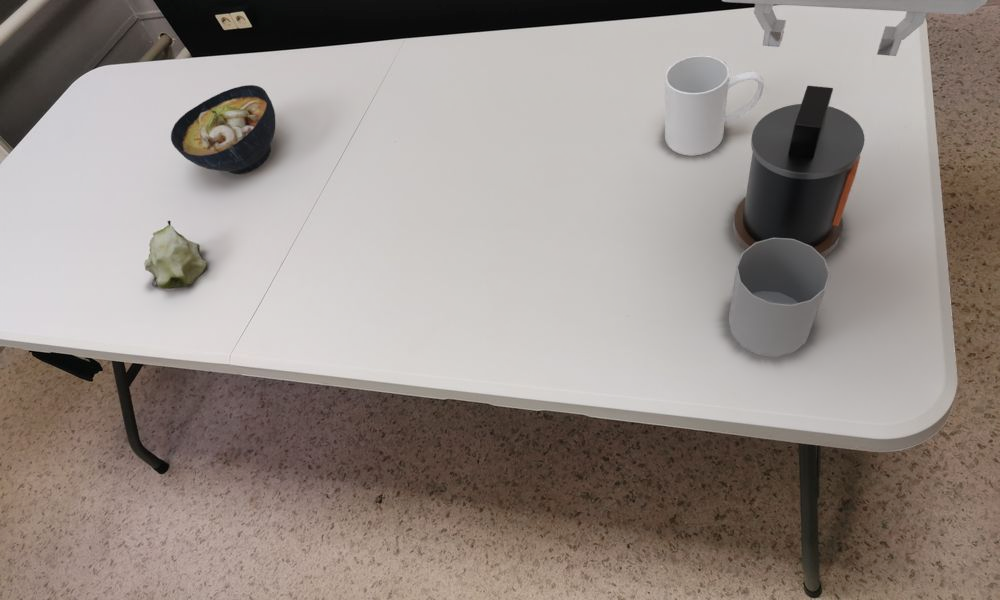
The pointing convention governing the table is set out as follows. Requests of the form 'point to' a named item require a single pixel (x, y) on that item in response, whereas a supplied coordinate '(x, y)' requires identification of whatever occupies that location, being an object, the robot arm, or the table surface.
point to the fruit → (173, 259)
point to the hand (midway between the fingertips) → (827, 47)
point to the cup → (776, 296)
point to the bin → (801, 170)
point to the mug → (700, 103)
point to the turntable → (748, 241)
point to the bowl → (228, 131)
